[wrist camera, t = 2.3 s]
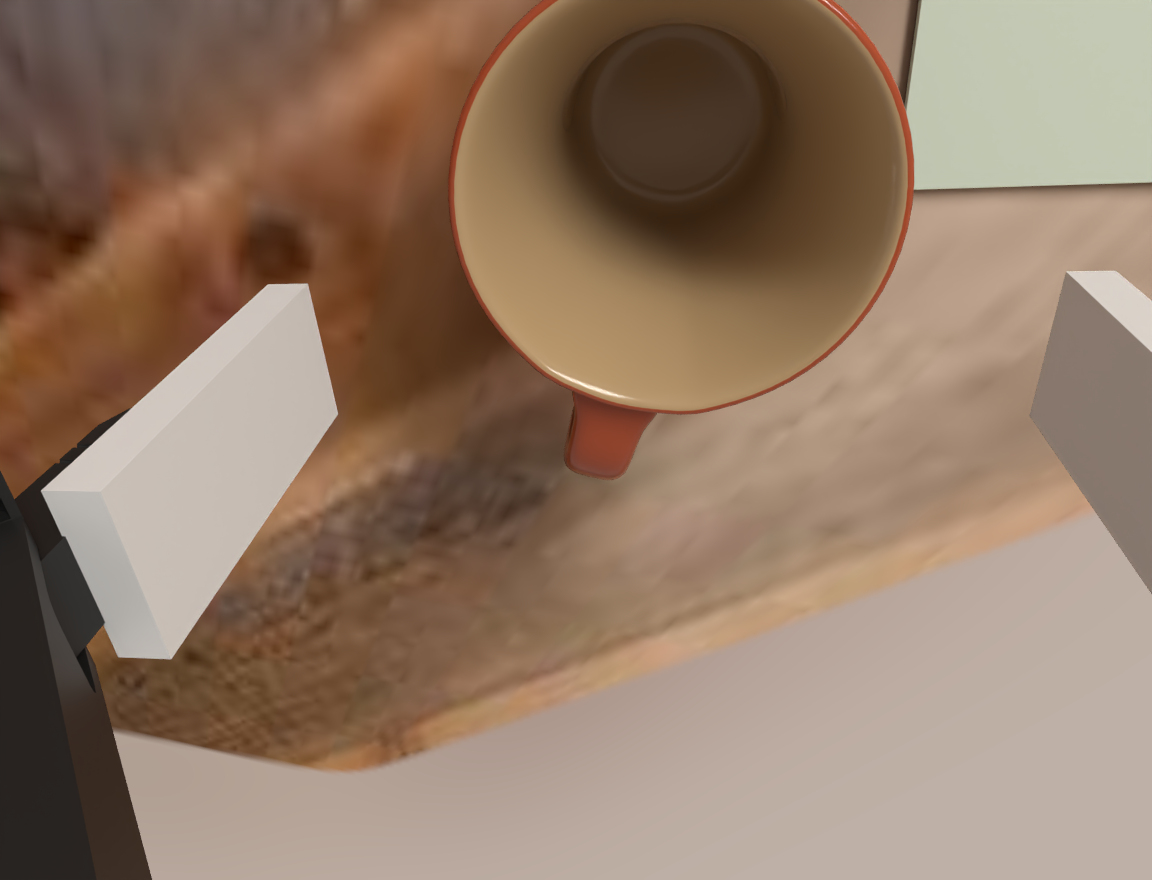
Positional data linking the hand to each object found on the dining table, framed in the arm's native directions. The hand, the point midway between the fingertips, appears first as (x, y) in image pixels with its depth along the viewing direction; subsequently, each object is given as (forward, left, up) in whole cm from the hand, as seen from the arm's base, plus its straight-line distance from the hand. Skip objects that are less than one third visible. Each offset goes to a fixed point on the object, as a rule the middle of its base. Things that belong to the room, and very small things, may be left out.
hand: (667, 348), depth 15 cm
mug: (0, 0, -13) cm, 13 cm away
